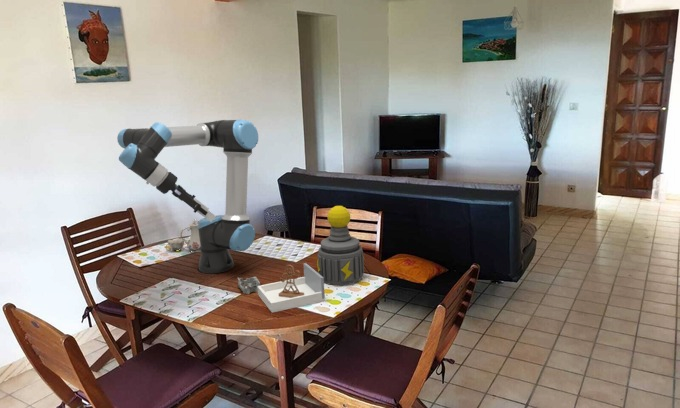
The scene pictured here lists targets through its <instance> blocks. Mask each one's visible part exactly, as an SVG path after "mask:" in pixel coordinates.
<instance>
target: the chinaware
mask: <svg viewBox="0 0 680 408" xmlns="http://www.w3.org/2000/svg"><path fill="white" fill-rule="evenodd" d="M199 221H200V220H199ZM199 221H198V220H197V218H194V220H193V221H192V222H191V223H189V224H188V225H189V226H187V227H184V228H182V229H181V230H180V233H179V235H180V237H175V238H173V239H168V240H167V244H166V245H165V250H166V251H170V250H173V251H174V250H179V249H180V250H182V249H183V247H184V245H186V246H187V249H188V250H189V252H190V251H192V252H200V253H201V246H200V238H199V230H198V222H199ZM185 230H187V232H190V237H189V239H186V238H183V236H182V234H183V231H185ZM167 246H169V247H170V249H168V248H167ZM192 252H191V253H192Z"/></svg>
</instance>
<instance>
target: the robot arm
mask: <svg viewBox="0 0 680 408" xmlns="http://www.w3.org/2000/svg"><path fill="white" fill-rule="evenodd" d="M116 138H117V143H118V145H119V146H120V147H121V148H122V149H123V151H122V152H121V153H120V154H119V156H118V161H119V163H121V164H122V165H123V166H124V167H126V168H127V169H128V170H130V171H131V172H133V173H135V174H136V175H137V176H138V177H140V178H142V180H144V181H145V182H146V183H145V184H146V185H151V186H152V187H155V189H156V191H157V190H158V191H159V192H160V193H162V194H164V195H166V194H167V193H169V191H170V192H171V194H172V195H173V196H174V197H175V198H178V199H179V201H180V202H183V203H185V204H187V206H189V207H190V208H191V209H192V210H193V212H194V213H195V214H196V213H198V214H199V215H200V216H202V217H203V218H201V219H200V220H199V222H198V230H199V238H200V246H201V252H200V257H199V259H198V260H199V262H198V265H197V266H198V271H199V272H201V273H203V274H219V273H224V272H227V271H229V270H231V269H233V268H234V265H235V263H234V259H233V257H232V255H231V252H230V250H232V251H234V252H237V251H238V252H244V251H246V250H248V249H250V247H251V245H252V244H253V243H254V240H255V237H256V230H255V228H254V226H253V225H252V224H251V223H250V222H251V218H250V217H249V216H248V215H247V205H248V204H247V203H248V202H247V201H248V200H247V199H248V174H249V173H248V172H249V171H248V169H249V157H250V156H251V155H252V154H253V149H255V147H256V146H257V144H258V143H259V133H258V130H257V127H256V126H255V125H254V123H252V122H251V121H249V120H246V119H245V120H244V119H221V120H214V121H209V122H200V123H197V124H196V125H185V126H168V127H167V125H165V124H163V123H161V122H157V121H156V122H154V123H153V124H152V125H151V126H150V127H145V128H124V129H122V130H120V131H119V132H118V133H117V137H116ZM194 145H198V146H200V147H214V148H215V147H217V148H223V150H222V151H223V154H224V155H225V157H226V176H225V177H226V182H225V183H226V185H225V186H226V187H225V212H224V213H225V214H224V215H223V214H221V215H219V214H218V215H215V214H214V213H213V212H212V211H210V210H209V209H210V208H209V207H207V206H206V205H205V204H203V203H202V202H201V201H200V200H198V199H197V198H196V195H195V194H190V193H188V192H187V191H186V189H184V187H182V185H180V184H177V181H178V177H177V175H175V174H174V173H173V172H171V171H169V169H167V168H166V167H165V166H164V165H162V164H161V163H159V162H158V161H156V158H157V157H158V155H160V153H161V152H162V150H164V148H168V147H181V146H194Z"/></svg>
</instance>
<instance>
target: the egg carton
mask: <svg viewBox="0 0 680 408" xmlns="http://www.w3.org/2000/svg"><path fill="white" fill-rule="evenodd" d="M236 278H237V281H238V282H237V286H238V288H239V289H240V291H242V294H244V295H245V294H246V295H250V293H252V292H253V293H258V289H257V286H260V285H261V282H260V281H259V279H258V277H257V276H251V277H250V278H248V277H246V278H245V279H243V277H236Z"/></svg>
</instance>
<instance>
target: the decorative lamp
mask: <svg viewBox="0 0 680 408" xmlns="http://www.w3.org/2000/svg"><path fill="white" fill-rule="evenodd" d="M326 217H327V221H328V223H329V225H330V231H329V235H328V237H326V238H323V239H322V240H320V246H319V248H318V252H317V261H316V266H317V273H319V274H320V275H321V276H322V277H324V284H327V285H332V286H347V285H348V286H349V285H353V284H355V283H358V282H360V281H361V280H362V279H363V277H364V273H365V266H364V265H365V264H364V263H365V256H364V251H363V247H362V246H361V244H360V240H359V238H357V237H355V236H352V235H351V234H350V230H349V226H348V224H349V223H350V221H351V213H350V211H349V210H348V209H347V208H346V207H344V206H343V205H335V206H333V207H331V208H330V209H329V210H328V213H327V216H326Z"/></svg>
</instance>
